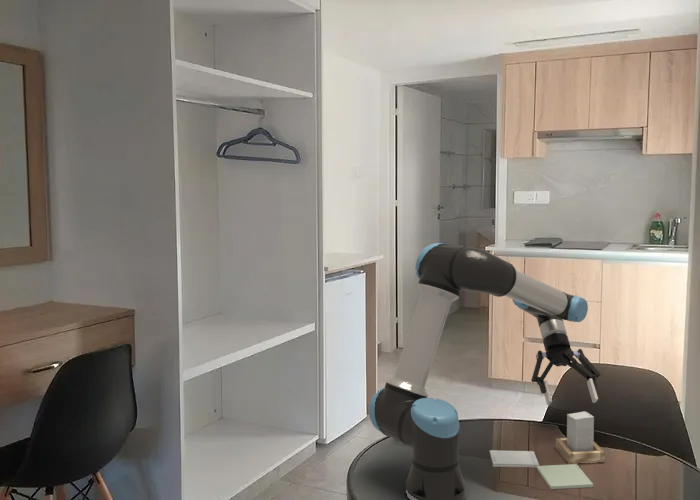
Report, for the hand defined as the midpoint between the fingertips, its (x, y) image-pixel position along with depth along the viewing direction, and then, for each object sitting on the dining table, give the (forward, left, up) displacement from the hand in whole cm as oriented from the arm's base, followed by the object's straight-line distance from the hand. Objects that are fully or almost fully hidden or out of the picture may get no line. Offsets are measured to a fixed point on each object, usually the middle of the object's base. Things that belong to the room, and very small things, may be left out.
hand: (572, 402), depth 191 cm
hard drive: (-20, -9, -13) cm, 25 cm away
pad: (-10, -20, -13) cm, 25 cm away
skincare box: (-1, -8, -13) cm, 15 cm away
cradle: (-1, -8, -13) cm, 15 cm away
